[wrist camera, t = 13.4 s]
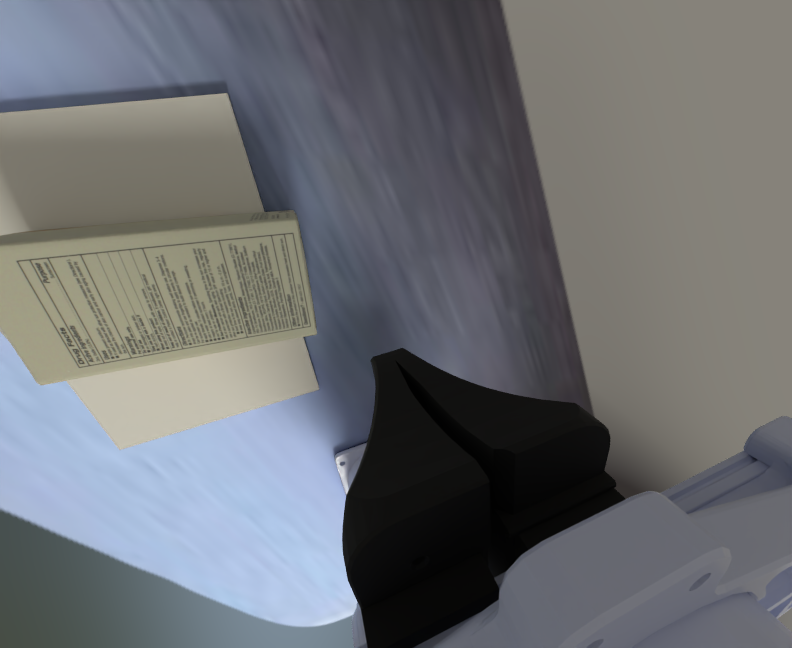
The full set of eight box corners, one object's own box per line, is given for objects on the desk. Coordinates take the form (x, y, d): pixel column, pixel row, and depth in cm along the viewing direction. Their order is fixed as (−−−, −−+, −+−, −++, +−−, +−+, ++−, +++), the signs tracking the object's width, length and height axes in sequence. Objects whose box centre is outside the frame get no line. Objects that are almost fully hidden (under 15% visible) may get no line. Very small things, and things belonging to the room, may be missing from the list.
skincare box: (297, 208, 18) (24, 222, 14) (300, 216, 14) (-67, 237, 11) (312, 312, 21) (87, 343, 17) (319, 341, 17) (32, 389, 14)
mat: (318, 385, 23) (319, 389, 23) (122, 444, 21) (119, 450, 20) (228, 95, 15) (226, 93, 15) (-117, 126, 12) (-132, 124, 12)
